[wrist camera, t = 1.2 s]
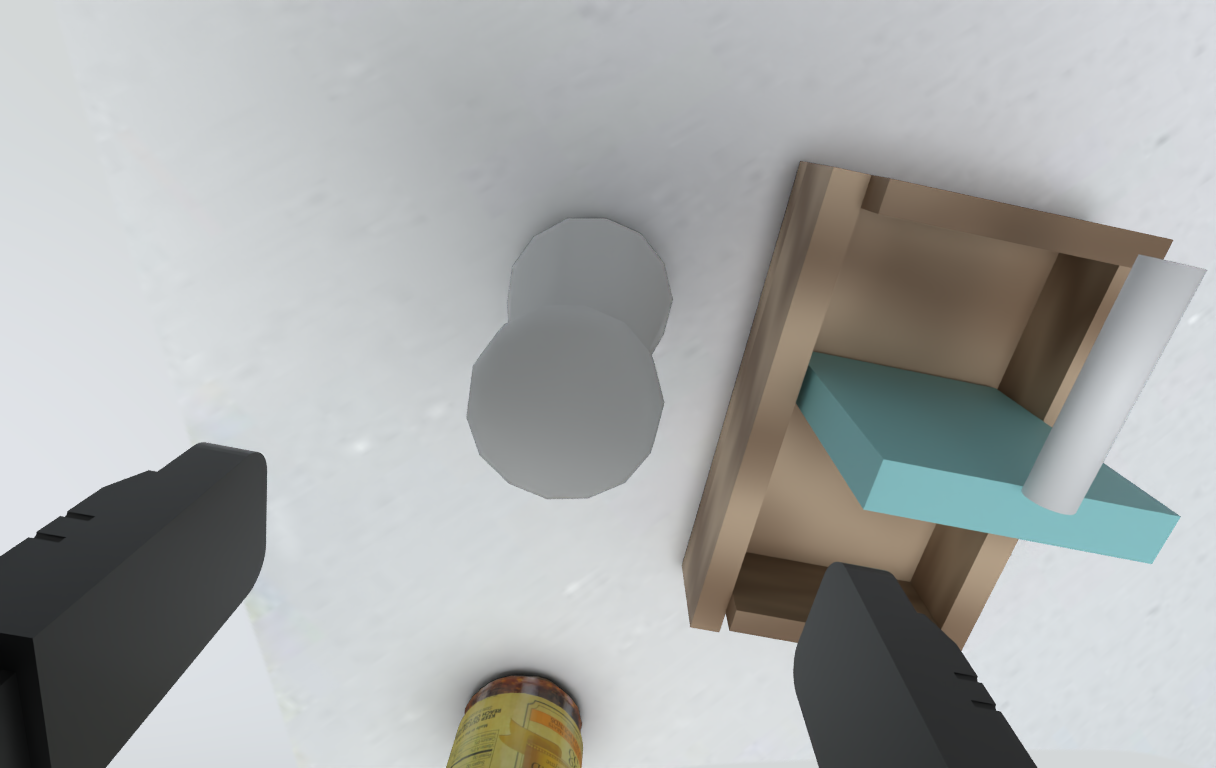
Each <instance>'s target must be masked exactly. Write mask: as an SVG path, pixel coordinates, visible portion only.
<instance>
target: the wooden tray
mask: <svg viewBox="0 0 1216 768" xmlns="http://www.w3.org/2000/svg"><path fill="white" fill-rule="evenodd" d="M1172 242H1173V240H1172V239H1167V238H1162V237H1158V236H1153V235H1149V234H1144V233H1139V232H1135V231H1130V230H1126V229H1121V228H1116V227H1112V226H1107V225H1102V224H1098V223H1093V222H1089V221H1084V220H1079V219H1075V218H1070V217H1066V216H1061V215H1056V214H1052V213H1047V212H1043V211H1038V210H1033V209H1029V208H1024V207H1020V206H1015V205H1010V204H1006V203H1001V202H996V201H992V200H987V199H983V198H978V197H973V196H969V195H964V194H960V193H955V192H950V191H946V190H941V189H937V188H932V187H927V186H923V185H918V184H913V183H909V182H904V181H900V180H895V179H890V178H885V177H879V176H874V175H869V174H864V173H860V172H855V171H851V170H846V169H841V168H837V167H832V166H826V165H820V164H815V163H809V162H803V161H800V164H799V167H798V171H797V174H796V178H795V181H794V184H793V188H792V191H791V195H790V198H789V202H788V205H787V208H786V212H785V215H784V219H783V222H782V225H781V229H780V232H779V236H778V239H777V243H776V246H775V249H774V253H773V256H772V260H771V263H770V266H769V270H768V273H767V277H766V280H765V284H764V287H763V290H762V294H761V297H760V301H759V304H758V307H757V311H756V314H755V318H754V321H753V324H752V328H751V331H750V335H749V338H748V342H747V345H746V348H745V352H744V355H743V359H742V362H741V365H740V369H739V372H738V376H737V379H736V383H735V386H734V389H733V393H732V396H731V400H730V403H729V406H728V410H727V413H726V417H725V420H724V424H723V427H722V430H721V434H720V437H719V441H718V444H717V447H716V451H715V454H714V458H713V461H712V464H711V468H710V471H709V475H708V478H707V482H706V485H705V488H704V492H703V495H702V499H701V502H700V505H699V509H698V512H697V516H696V519H695V523H694V526H693V529H692V533H691V536H690V540H689V543H688V546H687V550H686V553H685V557H684V560H683V564H682V570H683V577H684V585H685V592H686V599H687V607H688V614H689V621H690V627H692V628H698V629H703V630H709V631H715V632H719V631H720V628H721V625H722V622H723V619H724V616H725V613H726V617H727V621H728V626H729V631H734V632H739V633H745V634H751V635H756V636H762V637H768V638H773V639H779V640H785V641H790V642H796V643H798V641H799V639H800V636H801V633H802V631H803V628H804V626H805V623H806V620H807V618H808V615H809V613H810V610H811V607H812V605H813V602H814V600H815V597H816V594H817V592H818V589H819V587H820V584H821V581H822V579H823V576H824V574H825V572H826V570H827V568H828V567H829V566H830V565H831V564H832V563H833V562H843V563H848V564H853V565H859V566H864V567H870V568H875V569H880V570H886V571H889V572H891V573H892V574H893V575H894V577H895V578H896V579H897V581H898V583H899V584H900V586H901V588H902V589H903V591H904V592H905V594H906V596H907V597H908V599H909V601H910V602H911V604H912V605H913V607H914V609H915V610H916V612H917V613H921V614H925V615H926V616H927V617H928V618H929V619H930V620H931V621H932V622H933V623H934V624H935V625H936V626H938V627H939V628H940V629H941V630H942V631H943V632H944V633H945V634H946V635H947V636H948V637H949V638H950V639H952V640H953V641H954V642H955V643H956V644H957V646H958V647H959V649H960V650H961V651H962V649H963V647H964V645H965V643H966V641H967V639H968V637H969V635H970V633H971V631H972V629H973V627H974V625H975V623H976V621H977V619H978V617H979V616H980V614H981V612H982V610H983V608H984V606H985V604H986V602H987V600H988V598H989V596H990V594H991V592H992V590H993V588H994V586H995V584H996V582H997V580H998V578H999V576H1000V574H1001V573H1002V571H1003V569H1004V567H1005V565H1006V563H1007V561H1008V559H1009V557H1010V555H1011V553H1012V551H1013V549H1014V547H1015V545H1016V543H1017V541H1018V539H1017V538H1011V537H1006V536H1001V535H995V534H990V533H985V532H980V531H974V530H969V529H964V528H958V527H953V526H948V525H942V524H937V523H932V522H927V521H921V520H916V519H911V518H905V517H900V516H895V515H889V514H884V513H879V512H874V511H868V510H863V508H862V507H861V505H860V503H859V502H858V500H857V499H856V497H855V496H854V494H853V492H852V491H851V489H850V488H849V486H848V485H847V483H846V481H845V480H844V478H843V477H842V475H841V474H840V472H839V470H838V469H837V467H836V466H835V464H834V462H833V461H832V459H831V458H830V456H829V455H828V453H827V451H826V450H825V448H824V447H823V445H822V444H821V442H820V440H819V439H818V437H817V436H816V434H815V432H814V431H813V429H812V428H811V426H810V425H809V423H808V421H807V420H806V418H805V417H804V415H803V414H802V412H801V410H800V409H799V407H798V406H797V404H796V400H797V397H798V394H799V391H800V388H801V385H802V382H803V379H804V376H805V373H806V370H807V367H808V364H809V361H810V358H811V355H812V352H818V353H823V354H828V355H833V356H838V357H843V358H848V359H853V360H858V361H863V362H868V363H873V364H878V365H883V366H888V367H893V368H898V369H903V370H908V371H913V372H918V373H923V374H928V375H933V376H938V377H943V378H948V379H953V380H958V381H962V382H967V383H972V384H977V385H982V386H987V387H992V388H996V389H997V390H999V391H1000V392H1002V393H1003V394H1004V395H1006V396H1007V397H1009V398H1010V399H1012V400H1013V401H1015V402H1016V403H1017V404H1019V405H1020V406H1022V407H1023V408H1025V409H1026V410H1028V411H1029V412H1030V413H1032V414H1033V415H1035V416H1036V417H1038V418H1039V419H1041V420H1042V421H1043V422H1045V423H1046V424H1048V425H1049V426H1051V427H1053V425H1054V423H1055V421H1056V419H1057V417H1058V415H1059V413H1060V411H1061V409H1062V407H1063V405H1064V403H1065V401H1066V399H1067V397H1068V395H1069V393H1070V391H1071V389H1072V387H1073V385H1074V383H1075V381H1076V379H1077V377H1078V375H1079V373H1080V371H1081V369H1082V367H1083V365H1084V363H1085V361H1086V359H1087V357H1088V355H1089V353H1090V351H1091V349H1092V347H1093V345H1094V343H1095V341H1096V339H1097V337H1098V335H1099V333H1100V331H1101V329H1102V327H1103V325H1104V323H1105V321H1106V319H1107V317H1108V315H1109V313H1110V311H1111V309H1112V307H1113V305H1114V303H1115V301H1116V299H1117V297H1118V295H1119V293H1120V291H1121V289H1122V287H1123V285H1124V283H1125V281H1126V279H1127V277H1128V275H1129V273H1130V271H1131V269H1132V267H1133V265H1134V263H1135V261H1136V259H1137V257H1138V255H1144V256H1149V257H1153V258H1158V259H1162V260H1163V259H1164V257H1165V255H1166V253H1167V252H1168V250H1169V248H1170V246H1171V244H1172Z"/></svg>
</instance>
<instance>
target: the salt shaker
mask: <svg viewBox="0 0 1216 768" xmlns="http://www.w3.org/2000/svg"><path fill="white" fill-rule="evenodd" d="M672 301H673V298H672V294H671V290H670V286H669V282H668V278H667V274H666V270H665V266H664V263H663V262H662V260H661V259H660V258H659V256H658V255H657V254H656V253H655V251H654V250H653V249H652V247H651V246H650V245H649V243H648V242H647V241H646V240H645V238H644V237H643V236H642V234H641V233H638V232H636V231H634V230H631V229H629V228H627V227H625V226H622V225H620V224H618V223H615V222H613V221H611V220H609V219H606V218H567V219H565V220H563V221H561V222H560V223H558V224H556V225H554V226H552V227H550V228H549V229H547V230H545V231H543V232H541V233H539V234H538V235H536V236H534V237H533V238H532V240H531V241H530V243H529V244H528V245H527V247H526V248H525V249H524V251H523V252H522V254H521V255H520V256H519V258H518V259H517V261H516V262H515V263H514V265H513V266H512V272H511V279H510V286H509V293H508V300H507V308H508V323H506V324H504V325H503V327H502V328H501V329H500V330H499V331H498V332H497V334H496V335H495V336H494V338H493V339H492V340H491V342H490V343H489V344H488V346H487V347H486V349H485V350H484V351H483V353H482V354H481V355H480V357H479V358H478V359H477V361H476V362H475V363H474V365H473V369H472V377H471V385H470V393H469V401H468V409H467V420H468V423H469V426H470V429H471V432H472V435H473V437H474V440H475V443H476V446H477V449H478V452H479V455H480V456H481V457H482V458H483V459H484V460H485V461H486V462H487V463H488V464H489V465H490V466H491V467H492V468H493V469H494V470H496V471H497V472H498V473H499V474H500V475H501V476H502V477H503V478H504V479H505V480H506V481H507V482H508V483H509V484H511V485H514V486H516V487H519V488H521V489H524V490H526V491H528V492H531V493H533V494H536V495H538V496H541V497H543V498H545V499H580V498H590V497H592V496H595V495H597V494H599V493H602V492H604V491H607V490H609V489H611V488H614V487H616V486H618V485H621V484H623V483H625V482H626V481H627V480H628V479H629V477H630V476H631V475H632V474H633V473H634V472H635V471H636V469H637V468H638V467H639V466H640V465H641V464H642V462H643V461H644V460H645V459H646V458H647V457H648V455H649V454H650V453H651V450H652V447H653V444H654V440H655V436H656V433H657V429H658V425H659V421H660V418H661V414H662V410H663V406H664V399H663V395H662V391H661V388H660V384H659V380H658V376H657V372H656V368H655V364H654V361H653V358H652V354H653V352H654V350H655V348H656V347H657V345H658V343H659V341H660V339H661V338H662V336H663V334H664V331H665V327H666V323H667V319H668V316H669V312H670V308H671V304H672Z"/></svg>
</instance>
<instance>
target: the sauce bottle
mask: <svg viewBox="0 0 1216 768" xmlns="http://www.w3.org/2000/svg"><path fill="white" fill-rule="evenodd" d="M581 726H582V722H581V718H580V714H579V710H578V706H577V705H576V704H575V703H574V702H573V700H572V699H571V698H570V697H569V696H568V694H567V693H565V692H564V691H563V690H562V689H560V688H558V687H557V686H556V685H555V683H553V682H551V681H549V680H548V679H545V678H541V677H539V676H532V677H527V676H514V675H513V676H508V677H504V678H499V679H496V680H494V681H492V682H490V683H488V684H487V685H485V687H483V688H481V689H480V690H479V692H477V693H476V694H475V695H474V696H473V697H472V698H471V700H470V701H469V703H468V704H467V706H466V708H465V715H464V717H463V718H462V720H461V722H460V725H459V727H458V731H457V734H456V737H455V740H454V744H453V747H452V750H451V753H450V757H449V760H448V763H447V766H446V768H581V767H582V755H583V742H582V737H581V731H580V730H581Z"/></svg>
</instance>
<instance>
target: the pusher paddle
mask: <svg viewBox="0 0 1216 768" xmlns="http://www.w3.org/2000/svg"><path fill="white" fill-rule="evenodd" d="M1206 271H1207V270H1206V269H1202V268H1197V267H1193V266H1189V265H1185V264H1180V263H1176V262H1171V261H1167V260H1162V259H1158V258H1153V257H1149V256H1144V255H1138V257H1137V259H1136V261H1135V263H1134V265H1133V267H1132V269H1131V271H1130V273H1129V275H1128V277H1127V279H1126V281H1125V283H1124V285H1123V287H1122V289H1121V291H1120V293H1119V295H1118V297H1117V299H1116V301H1115V303H1114V305H1113V307H1112V309H1111V311H1110V313H1109V315H1108V317H1107V319H1106V321H1105V323H1104V325H1103V327H1102V329H1101V331H1100V333H1099V335H1098V337H1097V339H1096V341H1095V343H1094V345H1093V347H1092V349H1091V351H1090V353H1089V355H1088V357H1087V359H1086V361H1085V363H1084V365H1083V367H1082V369H1081V371H1080V373H1079V375H1078V377H1077V379H1076V381H1075V383H1074V385H1073V387H1072V389H1071V391H1070V393H1069V395H1068V397H1067V399H1066V401H1065V403H1064V405H1063V407H1062V409H1061V411H1060V413H1059V415H1058V417H1057V419H1056V421H1055V423H1054V425H1053V427H1051V426H1049V425H1048V424H1046V423H1045V422H1043V421H1042V420H1041V419H1039V418H1038V417H1036V416H1035V415H1033V414H1032V413H1030V412H1029V411H1028V410H1026V409H1025V408H1023V407H1022V406H1020V405H1019V404H1017V403H1016V402H1015V401H1013V400H1012V399H1010V398H1009V397H1007V396H1006V395H1004V394H1003V393H1002V392H1000V391H999V390H997V389H996V388H992V387H987V386H982V385H977V384H972V383H967V382H962V381H958V380H953V379H948V378H943V377H938V376H933V375H928V374H923V373H918V372H913V371H908V370H903V369H898V368H893V367H888V366H883V365H878V364H873V363H868V362H863V361H858V360H853V359H848V358H843V357H838V356H833V355H828V354H823V353H818V352H812V355H811V358H810V361H809V364H808V367H807V370H806V373H805V376H804V379H803V382H802V385H801V388H800V391H799V394H798V397H797V400H796V404H797V406H798V407H799V409H800V410H801V412H802V414H803V415H804V417H805V418H806V420H807V421H808V423H809V425H810V426H811V428H812V429H813V431H814V432H815V434H816V436H817V437H818V439H819V440H820V442H821V444H822V445H823V447H824V448H825V450H826V451H827V453H828V455H829V456H830V458H831V459H832V461H833V462H834V464H835V466H836V467H837V469H838V470H839V472H840V474H841V475H842V477H843V478H844V480H845V481H846V483H847V485H848V486H849V488H850V489H851V491H852V492H853V494H854V496H855V497H856V499H857V500H858V502H859V503H860V505H861V507H862V508H863V510H868V511H874V512H879V513H884V514H889V515H895V516H900V517H905V518H911V519H916V520H921V521H927V522H932V523H937V524H942V525H948V526H953V527H958V528H964V529H969V530H974V531H980V532H985V533H990V534H995V535H1001V536H1006V537H1011V538H1017V539H1022V540H1027V541H1033V542H1038V543H1043V544H1048V545H1054V546H1059V547H1064V548H1070V549H1075V550H1080V551H1086V552H1091V553H1096V554H1101V555H1107V556H1112V557H1117V558H1123V559H1128V560H1133V561H1139V562H1144V563H1149V564H1152V563H1153V561H1154V560H1155V558H1156V556H1157V555H1158V553H1159V551H1160V550H1161V548H1162V547H1163V545H1164V543H1165V542H1166V540H1167V538H1168V537H1169V535H1170V533H1171V532H1172V530H1173V529H1174V527H1175V525H1176V524H1177V522H1178V520H1179V519H1180V516H1179V515H1178V514H1176V513H1175V512H1173V511H1172V510H1170V509H1169V508H1167V507H1166V506H1165V505H1163V504H1162V503H1160V502H1159V501H1157V500H1156V499H1154V498H1153V497H1152V496H1150V495H1149V494H1147V493H1146V492H1144V491H1143V490H1141V489H1140V488H1139V487H1137V486H1136V485H1134V484H1133V483H1131V482H1130V481H1129V480H1127V479H1126V478H1124V477H1123V476H1121V475H1120V474H1118V473H1117V472H1116V471H1114V470H1113V469H1111V468H1110V467H1108V466H1107V465H1105V464H1104V463H1103V462H1104V460H1105V458H1106V456H1107V455H1108V453H1109V451H1110V449H1111V447H1112V445H1113V443H1114V442H1115V440H1116V438H1117V436H1118V434H1119V432H1120V431H1121V429H1122V427H1123V425H1124V423H1125V421H1126V419H1127V418H1128V416H1129V414H1130V412H1131V410H1132V408H1133V406H1134V405H1135V403H1136V401H1137V399H1138V397H1139V395H1140V394H1141V392H1142V390H1143V388H1144V386H1145V384H1146V382H1147V381H1148V379H1149V377H1150V375H1151V373H1152V371H1153V369H1154V368H1155V366H1156V364H1157V362H1158V360H1159V358H1160V357H1161V355H1162V353H1163V351H1164V349H1165V347H1166V345H1167V344H1168V342H1169V340H1170V338H1171V336H1172V334H1173V332H1174V331H1175V329H1176V327H1177V325H1178V323H1179V321H1180V320H1181V318H1182V316H1183V314H1184V312H1185V310H1186V308H1187V307H1188V305H1189V303H1190V301H1191V299H1192V297H1193V296H1194V294H1195V292H1196V290H1197V288H1198V286H1199V284H1200V283H1201V281H1202V279H1203V277H1204V275H1205V273H1206Z"/></svg>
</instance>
